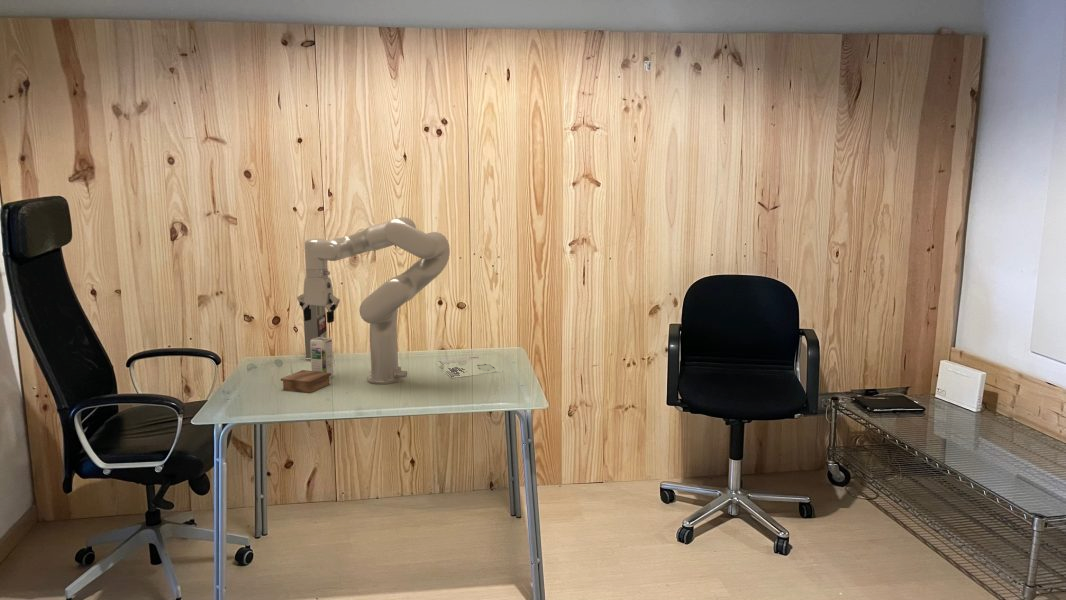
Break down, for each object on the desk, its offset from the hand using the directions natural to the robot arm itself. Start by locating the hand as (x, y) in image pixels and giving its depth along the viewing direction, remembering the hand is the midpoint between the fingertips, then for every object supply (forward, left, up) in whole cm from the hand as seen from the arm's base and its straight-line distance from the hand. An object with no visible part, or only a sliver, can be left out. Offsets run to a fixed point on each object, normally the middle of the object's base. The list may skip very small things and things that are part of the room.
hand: (319, 321), depth 277 cm
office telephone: (-44, -30, -22) cm, 58 cm away
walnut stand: (-2, +12, -21) cm, 24 cm away
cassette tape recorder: (+22, -27, -21) cm, 41 cm away
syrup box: (0, 0, -21) cm, 21 cm away
